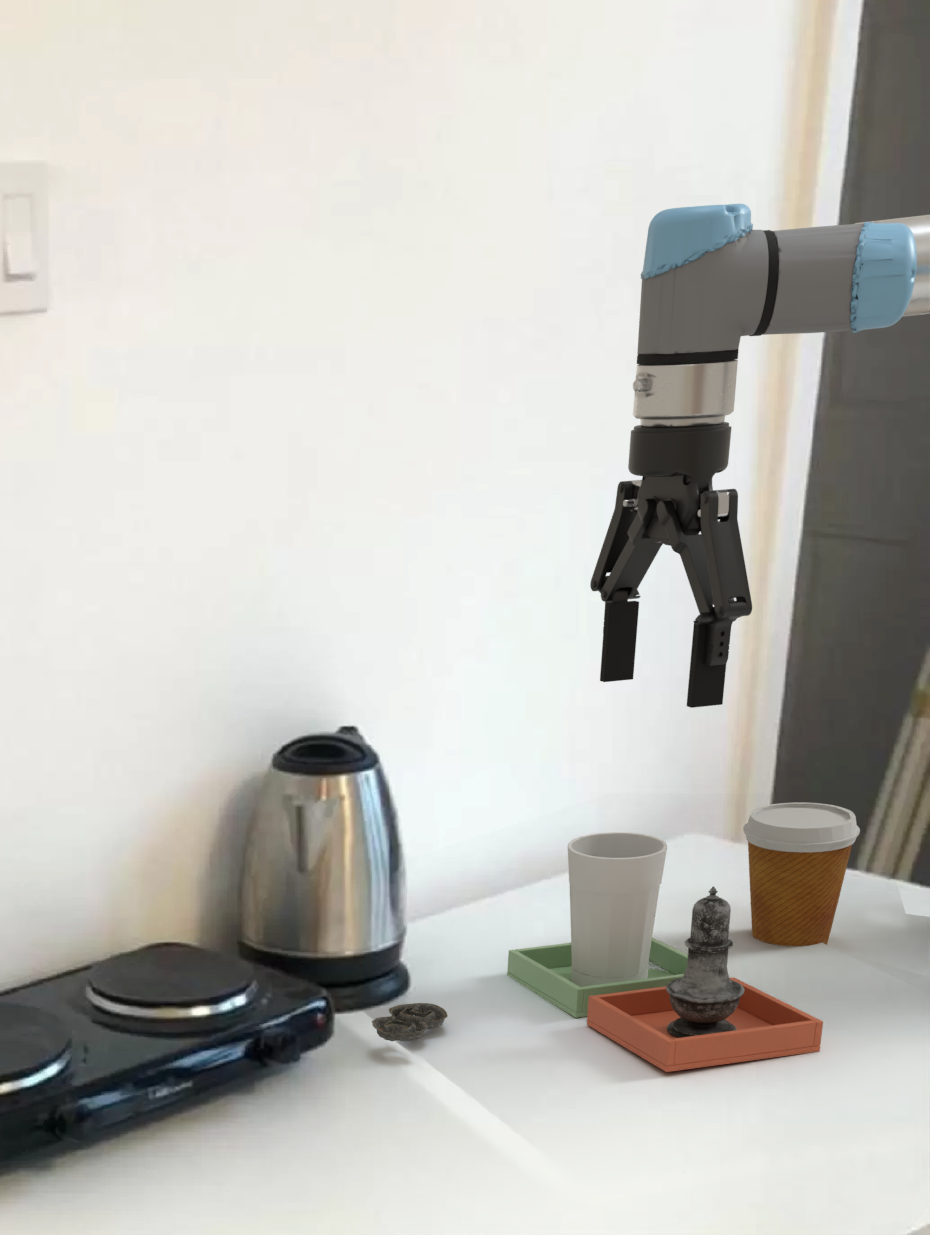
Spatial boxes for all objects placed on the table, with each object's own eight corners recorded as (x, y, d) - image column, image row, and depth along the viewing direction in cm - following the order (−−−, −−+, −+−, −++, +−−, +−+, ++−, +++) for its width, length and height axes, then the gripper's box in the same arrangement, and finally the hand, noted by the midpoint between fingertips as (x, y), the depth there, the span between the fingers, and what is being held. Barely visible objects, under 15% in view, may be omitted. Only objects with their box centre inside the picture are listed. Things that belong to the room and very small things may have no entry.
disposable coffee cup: (850, 963, 179) (865, 830, 174) (734, 960, 182) (745, 829, 177) (843, 929, 187) (857, 801, 182) (732, 926, 190) (743, 800, 185)
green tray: (642, 960, 183) (644, 933, 182) (719, 999, 172) (721, 971, 171) (506, 977, 181) (508, 950, 180) (575, 1018, 170) (577, 989, 169)
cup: (562, 995, 174) (569, 859, 169) (559, 964, 181) (565, 832, 176) (661, 995, 172) (671, 858, 167) (653, 964, 179) (663, 831, 174)
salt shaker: (649, 1034, 164) (659, 890, 159) (684, 1012, 167) (695, 871, 162) (719, 1049, 160) (732, 902, 155) (754, 1026, 163) (767, 882, 158)
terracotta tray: (731, 1005, 170) (734, 977, 170) (819, 1051, 159) (823, 1021, 158) (586, 1024, 168) (588, 995, 167) (666, 1072, 157) (668, 1041, 156)
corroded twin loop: (358, 1039, 168) (358, 1027, 168) (404, 1009, 174) (404, 997, 173) (414, 1049, 165) (414, 1037, 165) (458, 1018, 171) (459, 1006, 170)
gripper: (560, 419, 172) (544, 674, 180) (727, 430, 149) (701, 721, 157) (641, 412, 173) (622, 666, 181) (820, 423, 150) (788, 712, 159)
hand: (658, 692), depth 169 cm, fingers open, 13 cm apart
